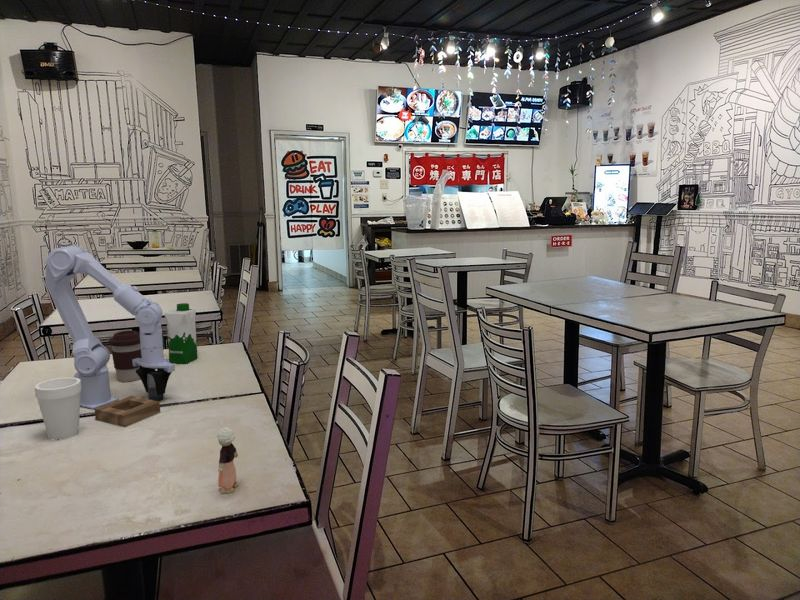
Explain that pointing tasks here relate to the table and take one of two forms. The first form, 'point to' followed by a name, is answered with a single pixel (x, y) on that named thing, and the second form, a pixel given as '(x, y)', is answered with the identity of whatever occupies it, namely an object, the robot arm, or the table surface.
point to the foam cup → (60, 406)
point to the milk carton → (181, 334)
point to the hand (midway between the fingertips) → (155, 392)
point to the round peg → (152, 388)
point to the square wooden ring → (127, 411)
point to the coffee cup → (126, 354)
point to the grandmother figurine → (227, 461)
